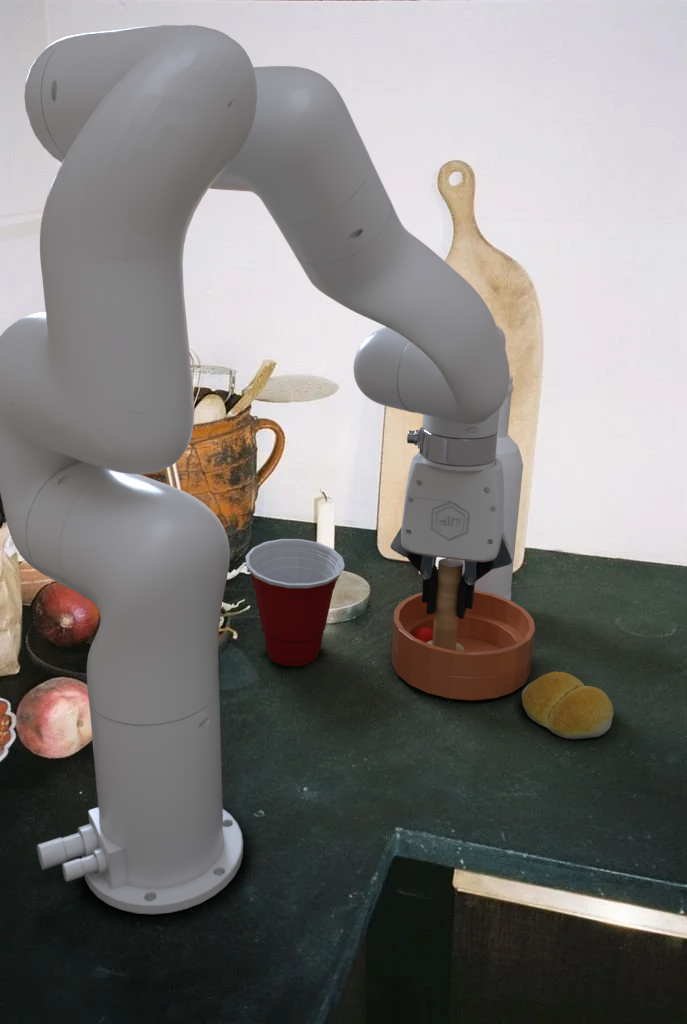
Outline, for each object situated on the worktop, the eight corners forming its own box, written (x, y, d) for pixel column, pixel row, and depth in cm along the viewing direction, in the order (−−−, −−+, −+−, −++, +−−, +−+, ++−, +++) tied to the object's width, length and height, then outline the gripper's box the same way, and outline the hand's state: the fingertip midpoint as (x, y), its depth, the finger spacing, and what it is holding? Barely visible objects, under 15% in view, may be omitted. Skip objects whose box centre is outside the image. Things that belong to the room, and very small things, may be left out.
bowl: (444, 719, 94) (447, 667, 92) (366, 652, 107) (367, 605, 104) (558, 682, 102) (564, 633, 99) (473, 623, 114) (476, 579, 112)
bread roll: (580, 753, 90) (585, 717, 88) (508, 712, 96) (511, 678, 94) (630, 722, 95) (635, 688, 93) (558, 685, 101) (562, 652, 99)
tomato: (404, 651, 105) (407, 625, 106) (420, 655, 107) (423, 629, 108) (426, 652, 103) (428, 625, 104) (442, 656, 105) (444, 629, 106)
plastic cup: (286, 690, 99) (286, 588, 94) (227, 650, 106) (225, 554, 102) (362, 658, 105) (365, 560, 101) (301, 622, 113) (302, 530, 109)
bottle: (520, 621, 114) (545, 380, 104) (461, 630, 112) (481, 384, 101) (490, 593, 122) (511, 365, 111) (435, 601, 119) (450, 368, 108)
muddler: (441, 671, 99) (448, 573, 96) (414, 654, 103) (421, 559, 99) (471, 661, 102) (480, 565, 98) (445, 645, 105) (452, 552, 101)
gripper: (371, 449, 92) (365, 615, 99) (538, 465, 88) (520, 638, 95) (387, 429, 99) (381, 586, 106) (543, 444, 95) (526, 606, 102)
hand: (447, 609), depth 100 cm, fingers closed on muddler, 2 cm apart
